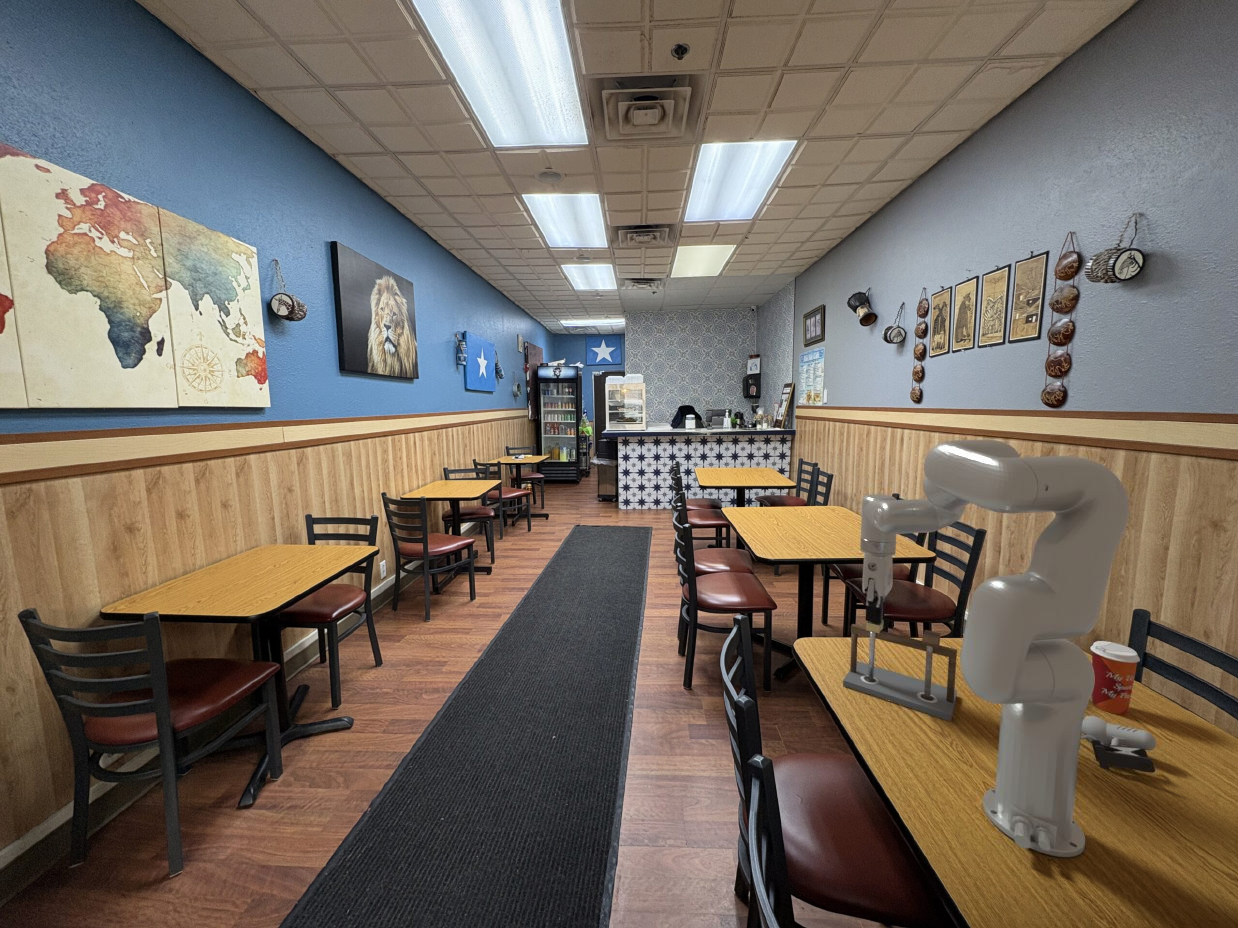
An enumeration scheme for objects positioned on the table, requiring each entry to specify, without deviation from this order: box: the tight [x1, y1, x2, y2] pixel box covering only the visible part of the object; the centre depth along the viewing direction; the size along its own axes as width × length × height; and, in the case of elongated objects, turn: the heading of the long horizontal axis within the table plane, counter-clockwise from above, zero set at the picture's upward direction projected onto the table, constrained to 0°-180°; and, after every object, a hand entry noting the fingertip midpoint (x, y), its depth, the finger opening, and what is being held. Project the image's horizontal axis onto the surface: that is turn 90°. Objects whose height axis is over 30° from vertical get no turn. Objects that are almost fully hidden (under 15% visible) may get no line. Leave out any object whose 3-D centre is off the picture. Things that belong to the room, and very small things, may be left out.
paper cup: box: [1090, 640, 1141, 716], centre depth 107 cm, size 8×8×14 cm
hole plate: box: [842, 660, 958, 722], centre depth 116 cm, size 12×22×2 cm, turn 50°
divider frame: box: [849, 623, 958, 703], centre depth 115 cm, size 4×22×14 cm, turn 50°
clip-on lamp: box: [1080, 715, 1157, 774], centre depth 95 cm, size 12×6×18 cm
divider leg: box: [865, 597, 884, 679], centre depth 118 cm, size 4×3×20 cm
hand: (874, 618), depth 118 cm, fingers closed on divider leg, 3 cm apart
